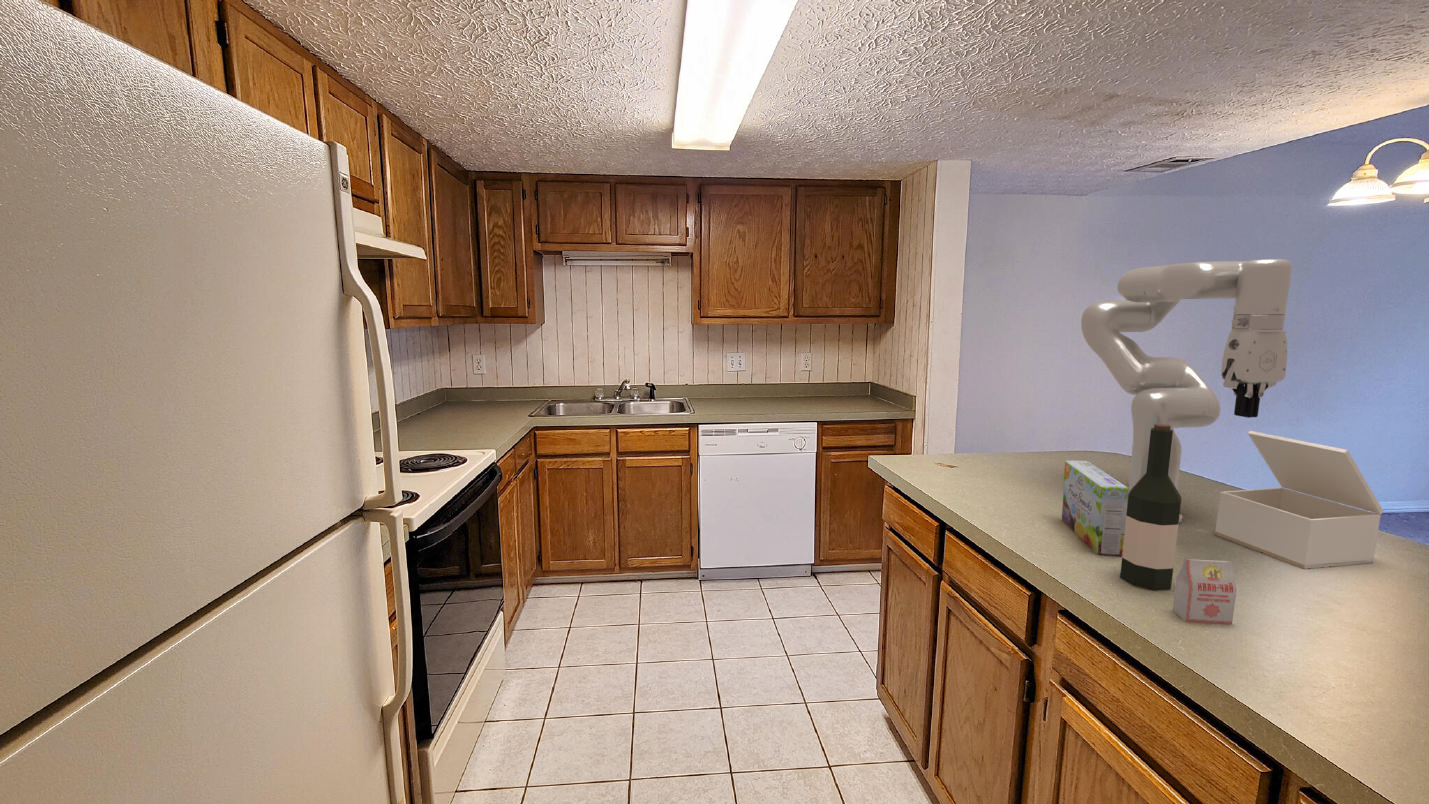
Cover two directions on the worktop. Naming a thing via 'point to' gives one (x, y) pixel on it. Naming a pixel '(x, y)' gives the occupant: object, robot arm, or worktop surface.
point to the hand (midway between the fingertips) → (1245, 416)
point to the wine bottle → (1152, 519)
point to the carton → (1298, 527)
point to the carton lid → (1316, 470)
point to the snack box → (1095, 507)
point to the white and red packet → (1205, 591)
